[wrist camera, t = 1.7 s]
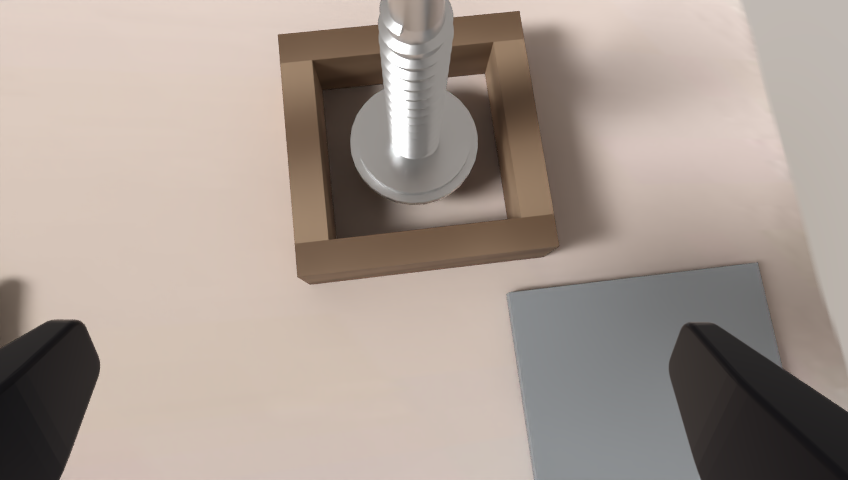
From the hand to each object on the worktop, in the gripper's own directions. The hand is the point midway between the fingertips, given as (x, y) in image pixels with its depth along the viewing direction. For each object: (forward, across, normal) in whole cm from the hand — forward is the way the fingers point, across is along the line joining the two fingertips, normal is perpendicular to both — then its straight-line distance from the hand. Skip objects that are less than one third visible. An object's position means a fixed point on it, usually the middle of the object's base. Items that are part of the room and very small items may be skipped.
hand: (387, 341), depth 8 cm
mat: (+8, -10, +11) cm, 17 cm away
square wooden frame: (+15, 0, +4) cm, 15 cm away
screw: (+15, 0, +4) cm, 16 cm away
